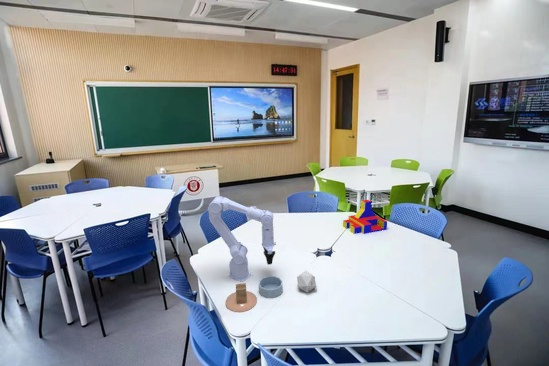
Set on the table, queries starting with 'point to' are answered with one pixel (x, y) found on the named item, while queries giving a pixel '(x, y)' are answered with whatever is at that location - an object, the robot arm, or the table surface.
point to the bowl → (270, 286)
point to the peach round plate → (251, 302)
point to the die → (306, 281)
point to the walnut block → (241, 293)
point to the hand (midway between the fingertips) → (268, 260)
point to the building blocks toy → (365, 220)
